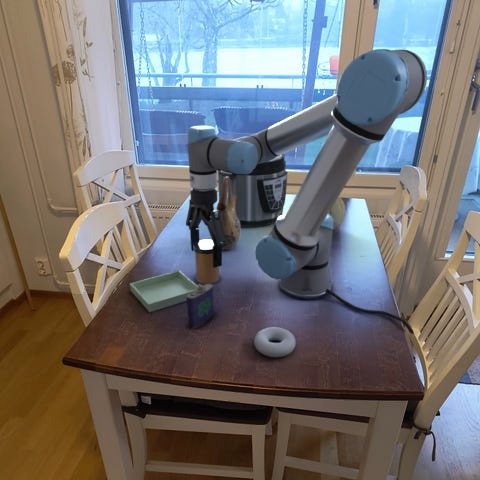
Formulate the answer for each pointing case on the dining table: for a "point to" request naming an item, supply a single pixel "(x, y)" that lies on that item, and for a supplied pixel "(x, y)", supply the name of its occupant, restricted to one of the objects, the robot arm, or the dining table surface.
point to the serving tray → (163, 290)
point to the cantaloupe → (338, 212)
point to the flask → (200, 305)
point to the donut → (271, 348)
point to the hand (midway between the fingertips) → (206, 257)
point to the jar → (205, 262)
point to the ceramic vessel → (229, 216)
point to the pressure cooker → (258, 192)
